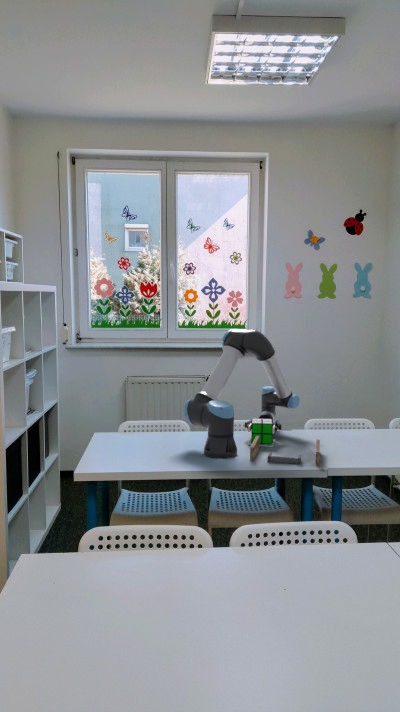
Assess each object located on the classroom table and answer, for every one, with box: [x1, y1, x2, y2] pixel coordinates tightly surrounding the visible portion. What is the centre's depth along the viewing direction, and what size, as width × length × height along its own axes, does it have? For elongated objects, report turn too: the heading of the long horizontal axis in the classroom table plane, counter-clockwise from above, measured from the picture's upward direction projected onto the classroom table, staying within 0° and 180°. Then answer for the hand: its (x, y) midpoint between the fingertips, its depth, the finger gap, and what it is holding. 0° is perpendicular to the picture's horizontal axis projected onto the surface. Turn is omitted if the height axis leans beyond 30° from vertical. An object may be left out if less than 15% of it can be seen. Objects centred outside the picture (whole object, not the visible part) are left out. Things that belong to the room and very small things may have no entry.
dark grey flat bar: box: [266, 452, 302, 466], centre depth 215 cm, size 14×6×2 cm, turn 76°
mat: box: [247, 438, 276, 448], centre depth 244 cm, size 12×12×1 cm
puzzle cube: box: [250, 418, 274, 444], centre depth 243 cm, size 10×10×10 cm
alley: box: [249, 435, 321, 467], centre depth 222 cm, size 29×20×6 cm
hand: (260, 430), depth 239 cm, fingers closed on puzzle cube, 11 cm apart
